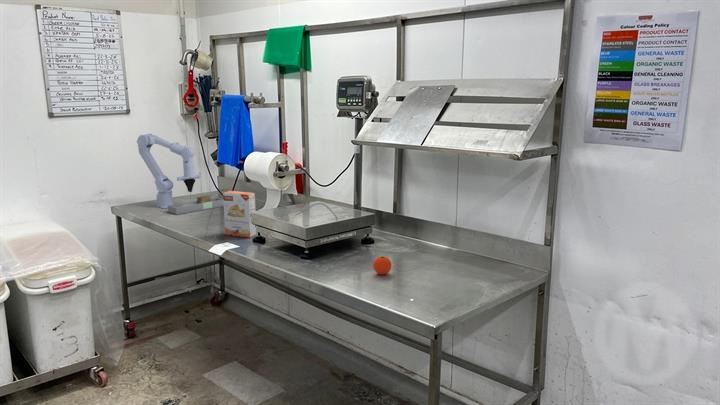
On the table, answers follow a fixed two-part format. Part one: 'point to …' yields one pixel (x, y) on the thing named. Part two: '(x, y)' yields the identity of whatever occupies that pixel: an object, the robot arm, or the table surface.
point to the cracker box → (239, 213)
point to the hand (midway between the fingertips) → (190, 191)
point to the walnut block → (203, 199)
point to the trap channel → (195, 206)
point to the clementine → (382, 265)
